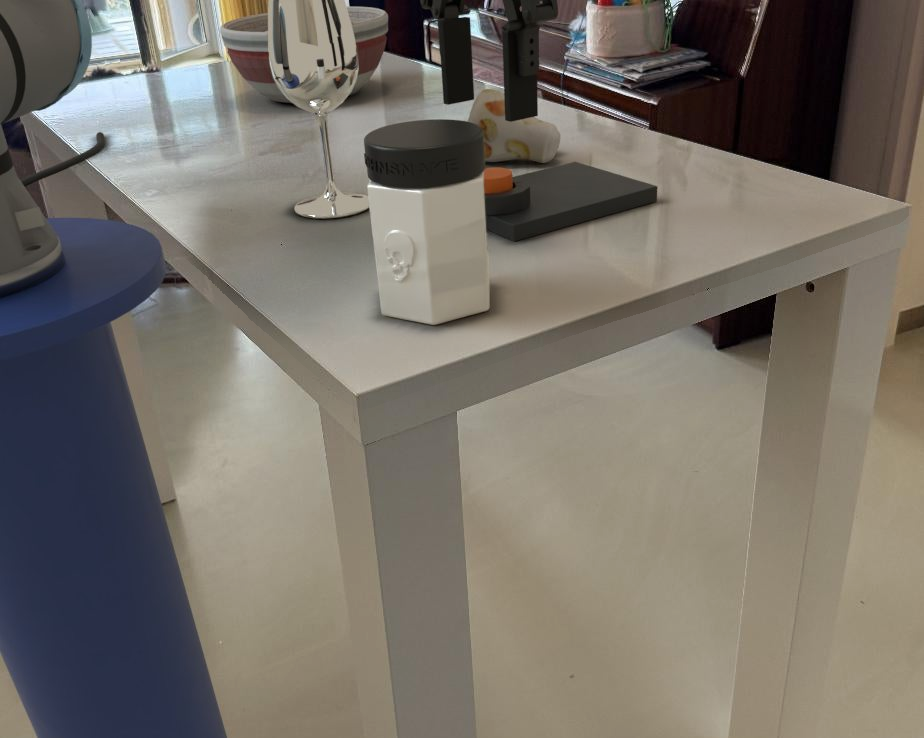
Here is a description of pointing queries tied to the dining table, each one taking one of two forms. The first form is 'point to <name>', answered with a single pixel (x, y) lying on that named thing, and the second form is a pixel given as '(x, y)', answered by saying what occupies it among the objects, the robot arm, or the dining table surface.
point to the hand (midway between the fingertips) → (489, 109)
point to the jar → (429, 219)
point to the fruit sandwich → (512, 132)
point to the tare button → (498, 180)
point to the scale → (562, 199)
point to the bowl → (252, 52)
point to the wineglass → (316, 80)
